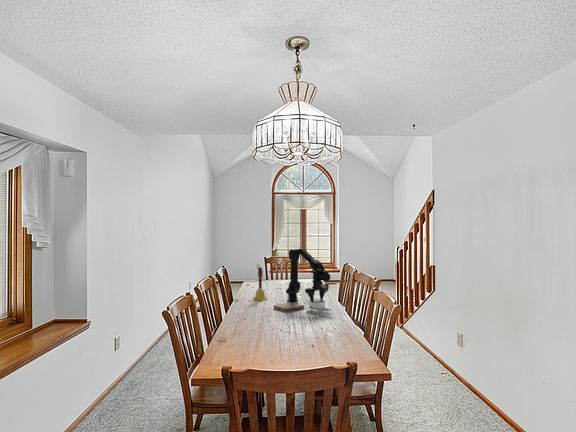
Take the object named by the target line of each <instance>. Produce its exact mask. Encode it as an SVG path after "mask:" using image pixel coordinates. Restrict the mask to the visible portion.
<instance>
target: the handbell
mask: <svg viewBox="0 0 576 432" xmlns="http://www.w3.org/2000/svg"><path fill="white" fill-rule="evenodd" d="M257 277H258V289H256V290H255V296H253V298H252V299H253V300H252V301H254V300H257V301H256V302H265V300H266V301H268V300H269V298H268V297H267V296H266V295H265V290H264V289H263V287H262V286H263V285H262V280H263V279H262V278H263V268H262V267H261V266H260V267H258V271H257Z"/></svg>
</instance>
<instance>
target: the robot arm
mask: <svg viewBox="0 0 576 432" xmlns="http://www.w3.org/2000/svg"><path fill="white" fill-rule="evenodd" d="M300 256H302V258H304V260H305V261H306V262H308V264H309V267H310V268H311V271H310V274H312V280H311V283H312V286H311V287H307V288H305V289H304V291H305V293H306V294H307V295H308V297H309V300H311V302H312V303H313V300H314V299H315V295H316V294H315V292H318V294H319V300H323V301H324V296H325V294H326V293H327V292H328V291H329V289H330V288H329V286H330V284H329V283H323V282H329V281H330V280H331V274H330V273H329V270H327V271H326V269H325V267H324V265H323V263H322V262H321V261H320V260H319V259H315V258H314V257H313V256H312V255H311V254H310V253H309V252H308V251H307V250H306V249H305V248H303V247H302V248H298V249H297V248H296V249H295V248H294V249H290V250H288V258H289V260H290V281H289V283H288V287H287V289H286V290H285V293H286V294H287V297H288V299H287V300H286V302H288V303H289V302H292V303H296V302H299V300H298V296H297V295H298V294H299V292H300V290H301V282H300V281H299V279H298V261H299V259H300Z"/></svg>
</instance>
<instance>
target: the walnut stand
mask: <svg viewBox="0 0 576 432" xmlns="http://www.w3.org/2000/svg"><path fill="white" fill-rule="evenodd" d="M304 309H305V304H301V303H300V304H299V303H296V302H289V301H288V302H284V303H280V304H274V305H273V310H277V311H280V312H283V313H292V312H296V311H300V310H304Z"/></svg>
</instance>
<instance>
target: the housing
mask: <svg viewBox="0 0 576 432" xmlns="http://www.w3.org/2000/svg"><path fill="white" fill-rule="evenodd" d="M308 302H309V303H308V304H309V305H308V306H309V307H310V308H312V309H313V308H314V309H318V310H320V309H325V308H326V301H325V300H324V299H323V300H321V299H320V298H319V299H318V298H314V300H313V303H312V302H311V299H308Z"/></svg>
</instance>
